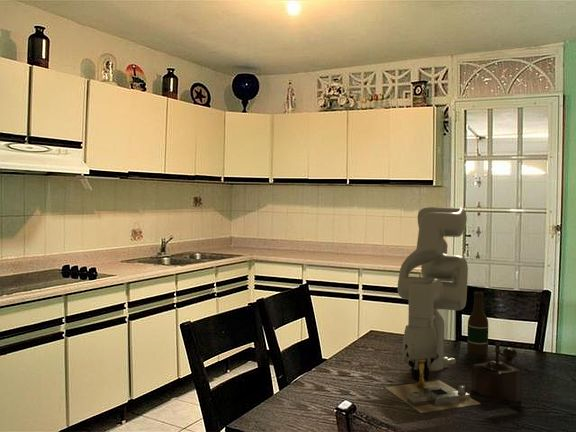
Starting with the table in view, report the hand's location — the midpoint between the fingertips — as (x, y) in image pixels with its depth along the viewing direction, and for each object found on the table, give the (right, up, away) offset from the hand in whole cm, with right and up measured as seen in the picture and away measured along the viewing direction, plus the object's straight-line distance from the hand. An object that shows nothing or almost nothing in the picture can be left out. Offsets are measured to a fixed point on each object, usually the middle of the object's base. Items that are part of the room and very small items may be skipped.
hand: (420, 379), depth 162 cm
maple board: (+2, -4, -6) cm, 8 cm away
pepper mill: (+23, -5, -6) cm, 24 cm away
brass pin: (0, -2, 0) cm, 2 cm away
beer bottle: (+33, -3, +42) cm, 53 cm away
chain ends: (+3, -3, -10) cm, 11 cm away
